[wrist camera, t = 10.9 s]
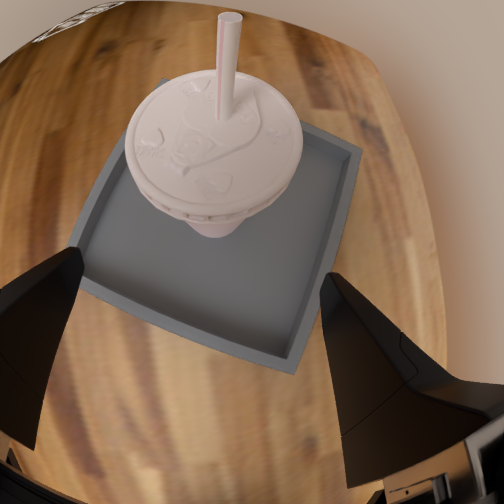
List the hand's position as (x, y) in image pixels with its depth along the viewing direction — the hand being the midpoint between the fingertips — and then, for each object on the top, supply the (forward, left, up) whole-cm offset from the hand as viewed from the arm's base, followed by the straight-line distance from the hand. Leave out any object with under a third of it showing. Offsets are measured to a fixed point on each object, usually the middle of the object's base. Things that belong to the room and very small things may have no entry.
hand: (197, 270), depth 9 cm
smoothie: (+1, -4, -8) cm, 10 cm away
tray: (+1, -5, -9) cm, 10 cm away
